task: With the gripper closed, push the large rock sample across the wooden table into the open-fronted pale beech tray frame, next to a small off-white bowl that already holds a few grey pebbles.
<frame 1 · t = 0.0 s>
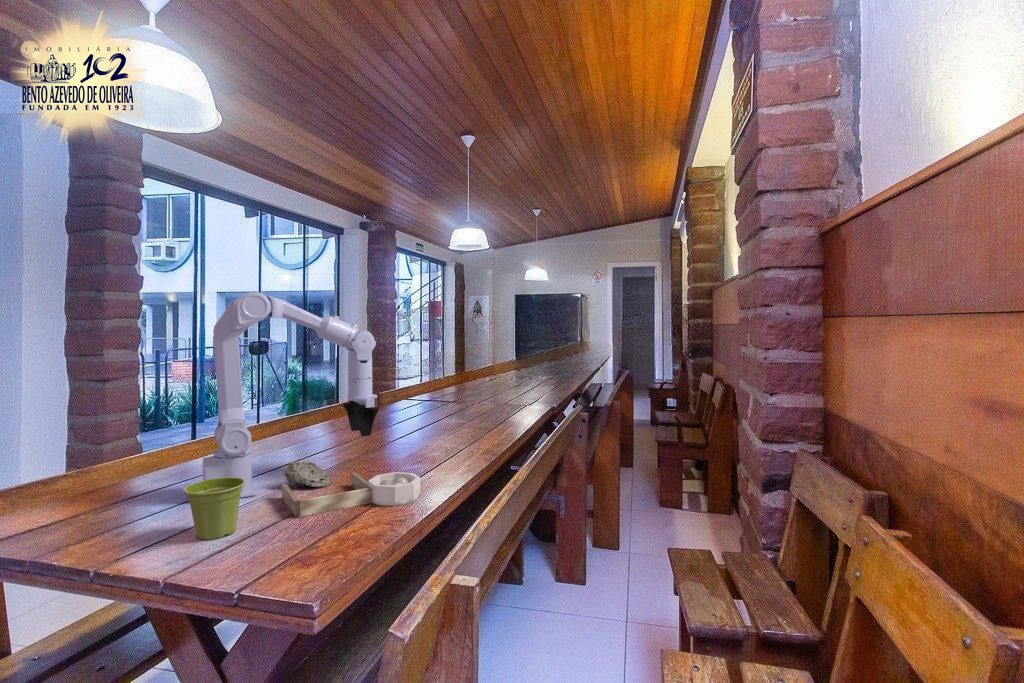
hand: (360, 433, 127), 10 cm above the table, tool pointing down, fingers open, 7 cm apart
pebble b: (385, 487, 109), point 2 cm above the table, touching bowl
plant pot: (216, 534, 90), on the table
pebble a: (401, 484, 111), point 2 cm above the table, tilted 14°, touching bowl
pebble c: (397, 490, 107), point 2 cm above the table, tilted 14°, touching bowl
rock sample: (313, 485, 119), on the table
bowl: (394, 497, 109), on the table
tray frame: (327, 499, 108), on the table
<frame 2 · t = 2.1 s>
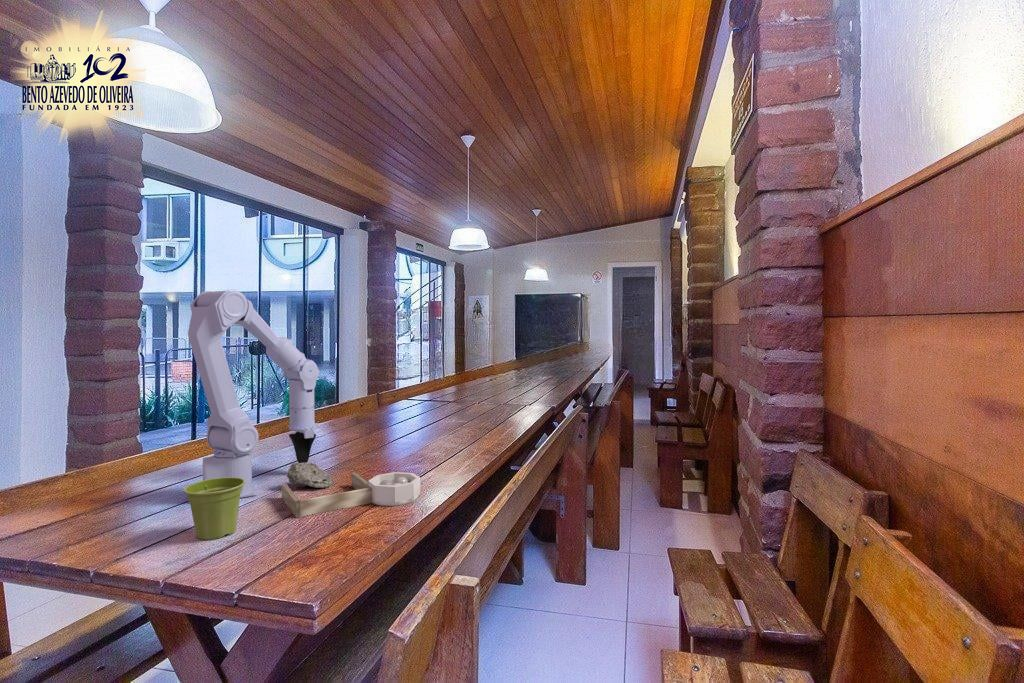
hand: (302, 462, 127), 3 cm above the table, tool pointing down, fingers closed
pebble a: (401, 483, 111), point 2 cm above the table, tilted 32°, touching bowl
pebble c: (397, 490, 107), point 2 cm above the table, tilted 23°, touching bowl
rock sample: (315, 486, 118), on the table
everything else where it was.
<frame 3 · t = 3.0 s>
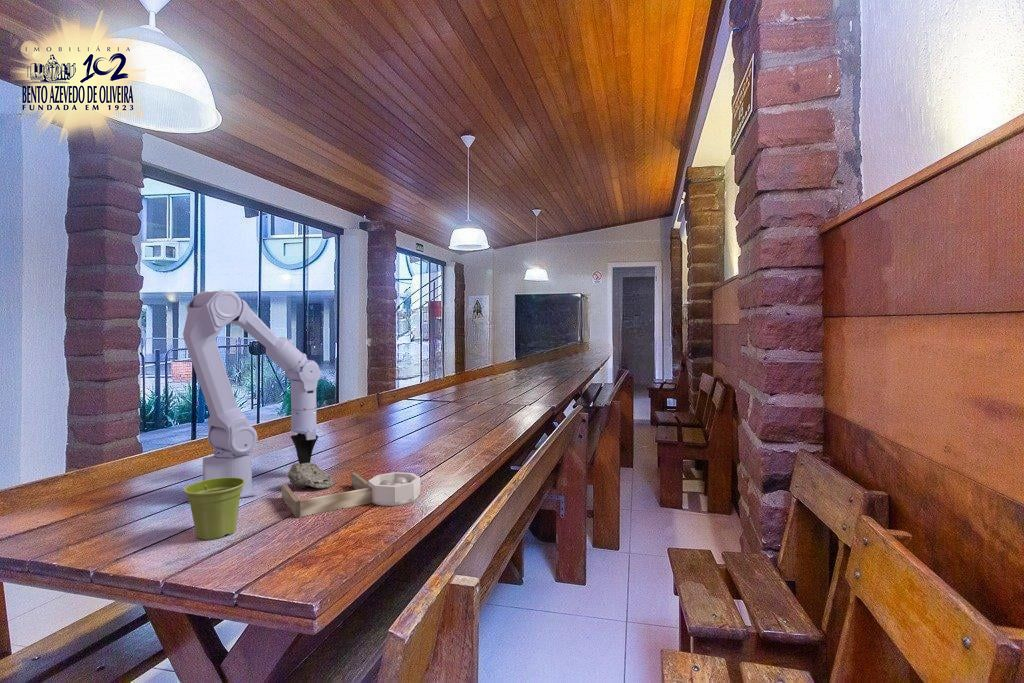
hand: (304, 464, 125), 3 cm above the table, tool pointing down, fingers closed
pebble a: (400, 484, 111), point 2 cm above the table, tilted 24°, touching bowl
everything else where it was.
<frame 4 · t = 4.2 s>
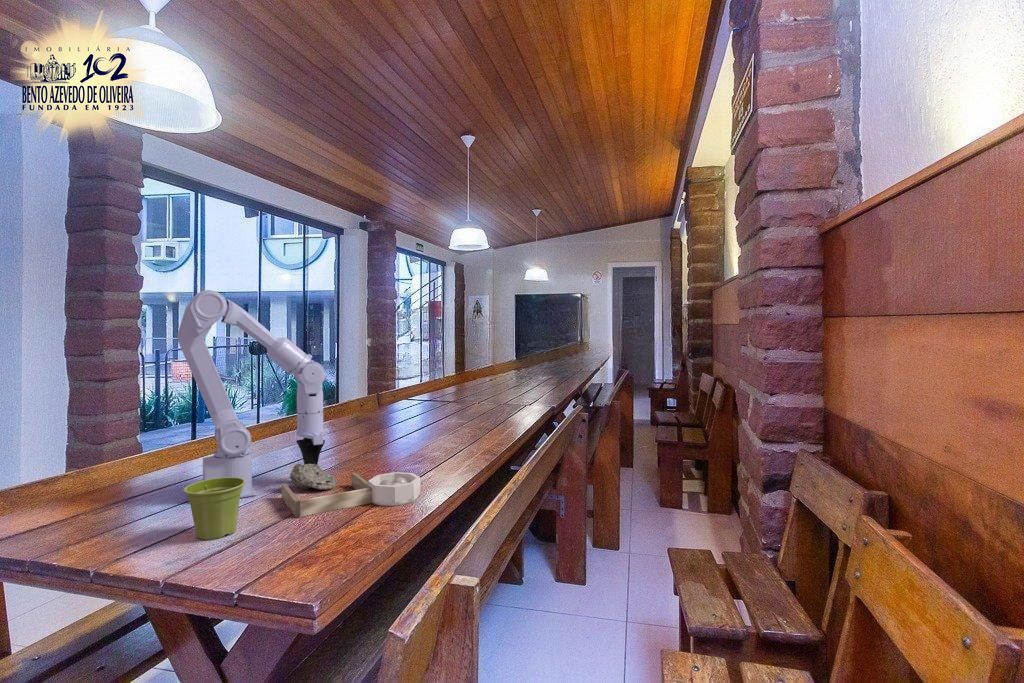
hand: (310, 469, 120), 3 cm above the table, tool pointing down, fingers closed
pebble a: (400, 484, 111), point 2 cm above the table, tilted 13°, touching bowl
rock sample: (318, 488, 116), on the table, touching gripper
everything else where it was.
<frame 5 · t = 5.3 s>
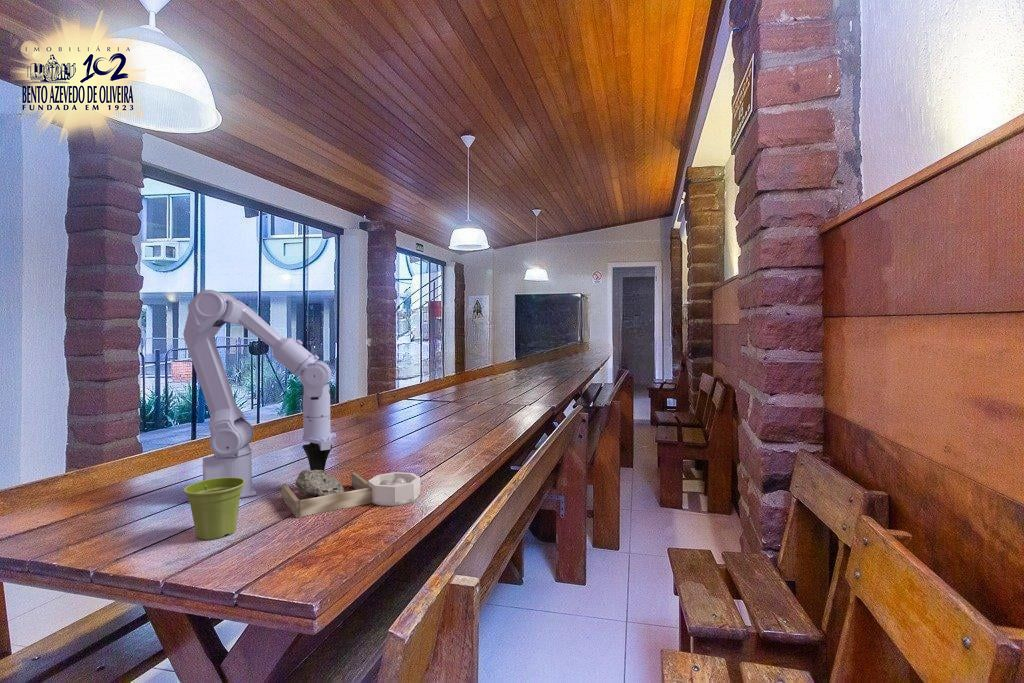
hand: (317, 476, 115), 3 cm above the table, tool pointing down, fingers closed
rock sample: (325, 495, 111), on the table, touching gripper
everything else where it was.
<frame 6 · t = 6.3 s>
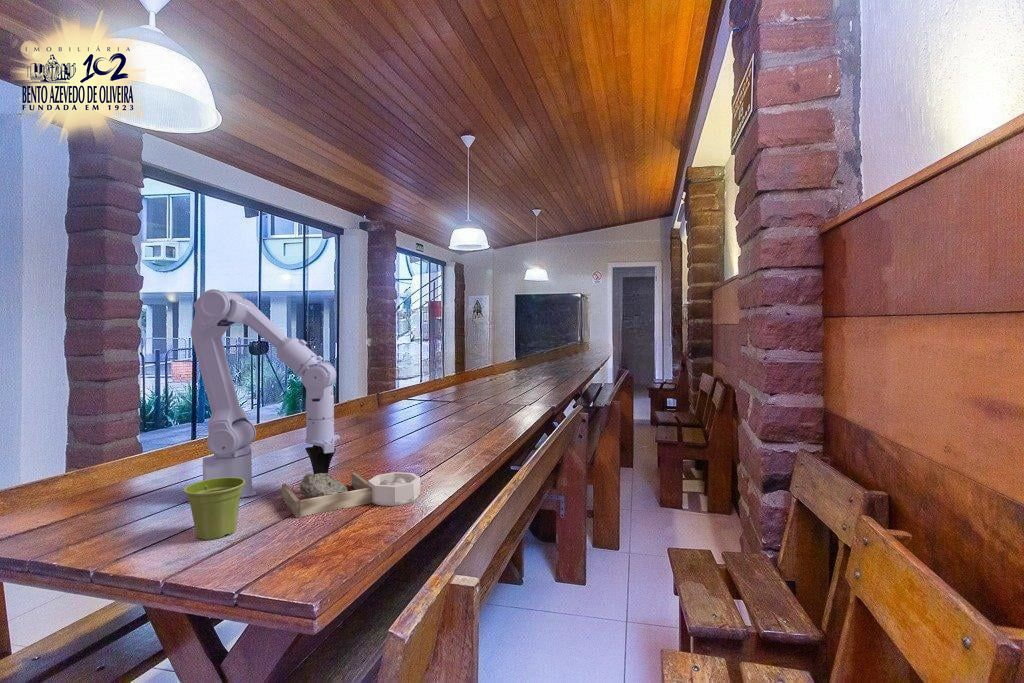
hand: (320, 479, 112), 3 cm above the table, tool pointing down, fingers closed
rock sample: (330, 499, 109), on the table
everything else where it was.
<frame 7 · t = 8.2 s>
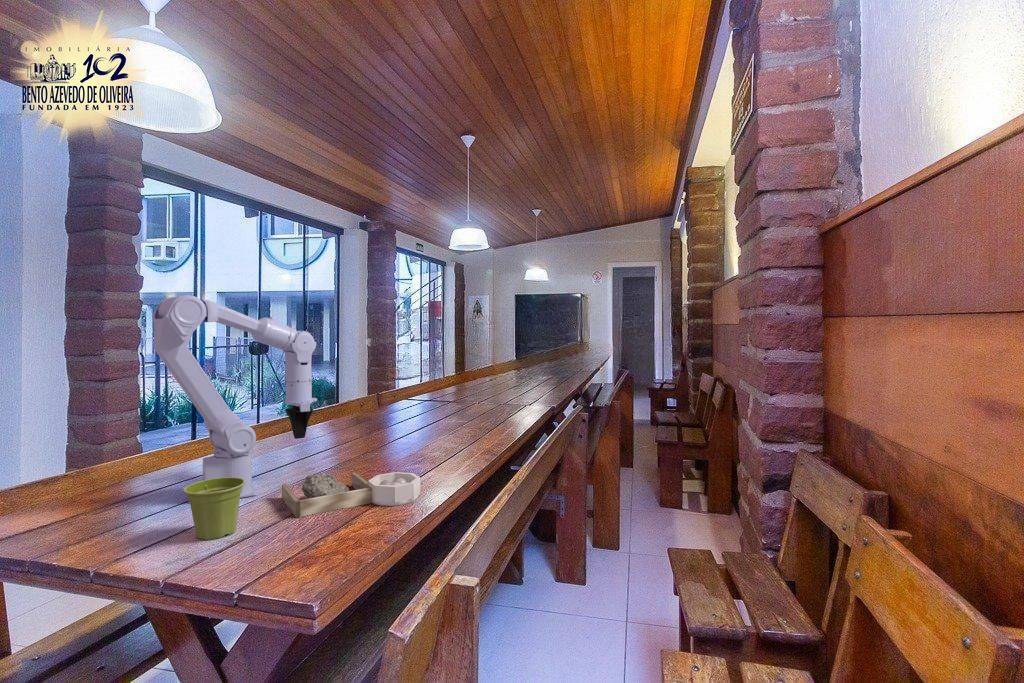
hand: (299, 437, 122), 10 cm above the table, tool pointing down, fingers closed
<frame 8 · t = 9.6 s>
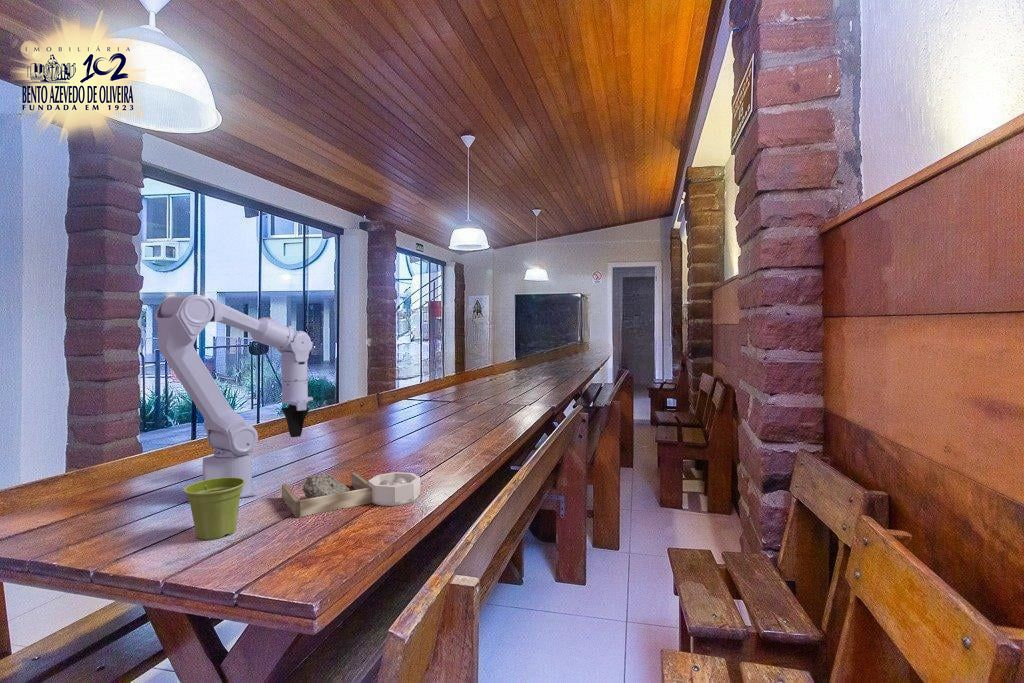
hand: (295, 436, 124), 10 cm above the table, tool pointing down, fingers closed
at the end: rock sample inside the target area on the tray frame (1.1 cm from its centre), point 0.0 cm above the tray frame's base; rock sample moved 13.7 cm from its start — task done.
